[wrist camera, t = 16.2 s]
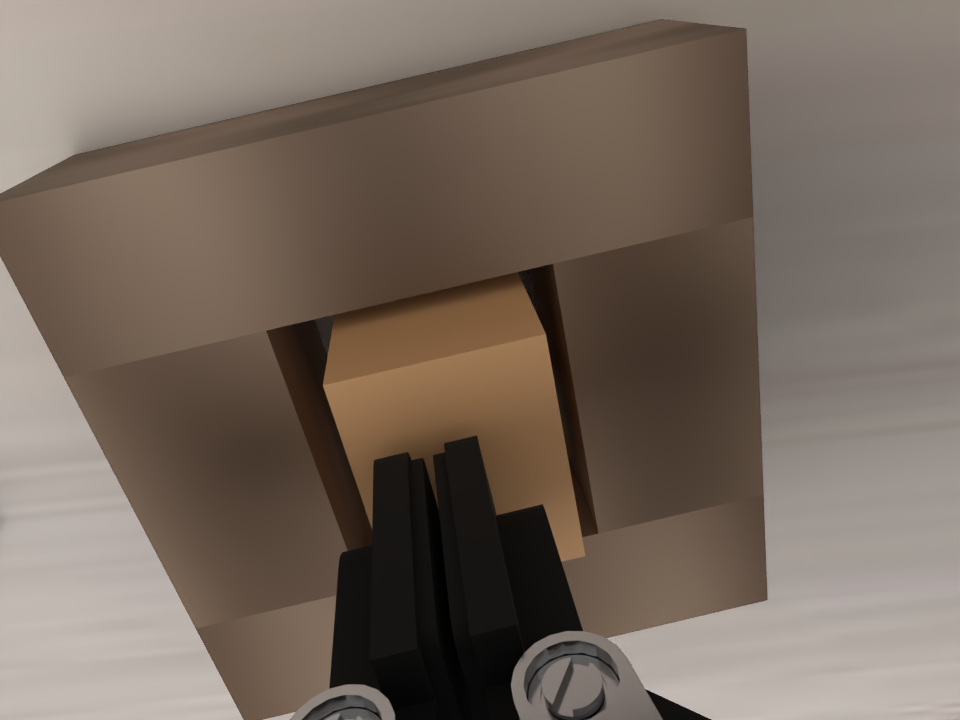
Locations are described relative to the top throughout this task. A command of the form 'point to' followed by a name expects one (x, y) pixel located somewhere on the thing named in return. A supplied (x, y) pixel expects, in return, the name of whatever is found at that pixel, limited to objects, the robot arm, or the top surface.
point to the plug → (456, 394)
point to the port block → (405, 273)
